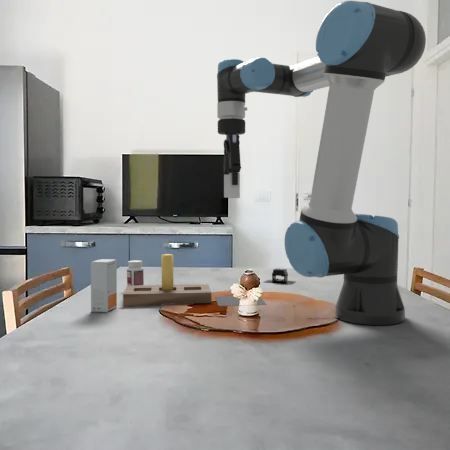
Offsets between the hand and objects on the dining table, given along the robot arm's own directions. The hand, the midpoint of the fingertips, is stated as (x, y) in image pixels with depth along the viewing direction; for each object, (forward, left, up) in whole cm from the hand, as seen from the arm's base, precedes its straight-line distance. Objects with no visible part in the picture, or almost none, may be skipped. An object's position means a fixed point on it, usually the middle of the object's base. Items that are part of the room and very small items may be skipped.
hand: (231, 197), depth 145 cm
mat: (-10, -1, -27) cm, 29 cm away
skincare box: (-15, +33, -27) cm, 45 cm away
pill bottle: (+10, +27, -27) cm, 39 cm away
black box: (+19, -17, -28) cm, 38 cm away
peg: (-6, +18, -27) cm, 33 cm away
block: (-6, +18, -27) cm, 32 cm away
